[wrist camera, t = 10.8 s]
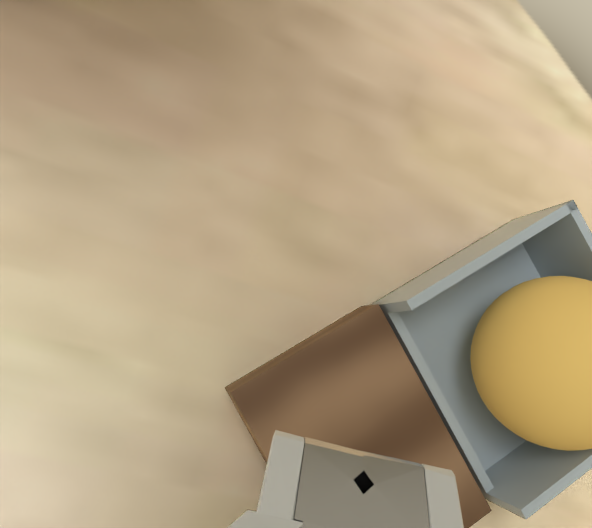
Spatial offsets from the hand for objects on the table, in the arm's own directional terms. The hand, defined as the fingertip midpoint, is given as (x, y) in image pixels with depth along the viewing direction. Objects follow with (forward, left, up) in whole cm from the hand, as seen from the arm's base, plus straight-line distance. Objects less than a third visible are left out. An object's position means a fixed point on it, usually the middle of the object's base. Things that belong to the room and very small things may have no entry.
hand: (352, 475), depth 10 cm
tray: (+8, +17, -25) cm, 31 cm away
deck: (+8, +5, -25) cm, 27 cm away
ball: (+9, +17, -20) cm, 28 cm away
